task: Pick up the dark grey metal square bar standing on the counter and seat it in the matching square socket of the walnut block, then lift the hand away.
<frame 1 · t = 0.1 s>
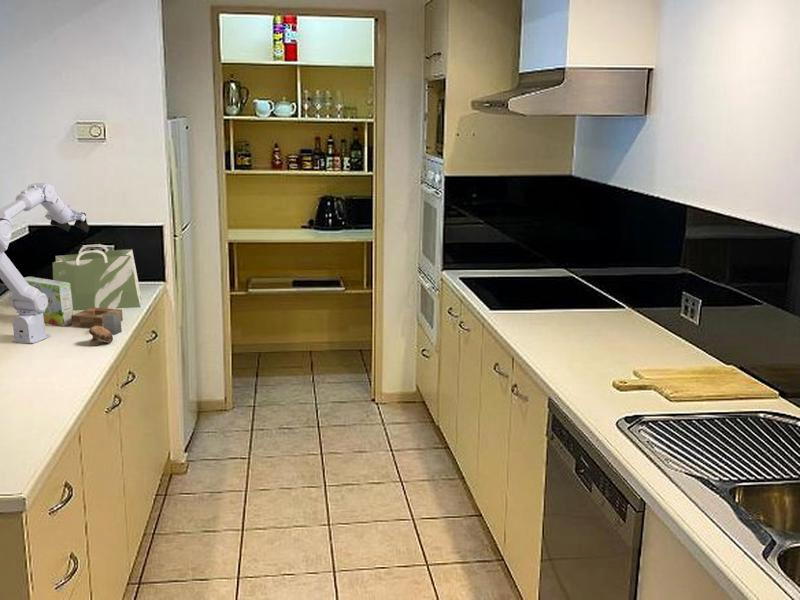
hand: (78, 229, 290), 32 cm above the countertop, fingers open, 7 cm apart
square bit: (113, 333, 279), on the countertop
snack box: (48, 322, 292), on the countertop
socket block: (97, 323, 290), on the countertop
mushroom: (101, 344, 266), on the countertop
grocery bag: (98, 306, 316), on the countertop
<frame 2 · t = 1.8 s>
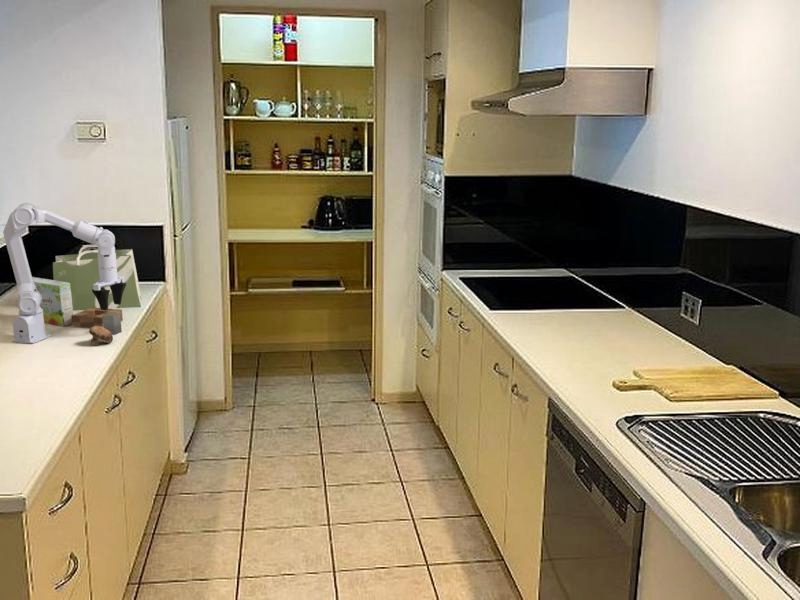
hand: (111, 306, 276), 9 cm above the countertop, fingers open, 7 cm apart
nothing on the countertop moved.
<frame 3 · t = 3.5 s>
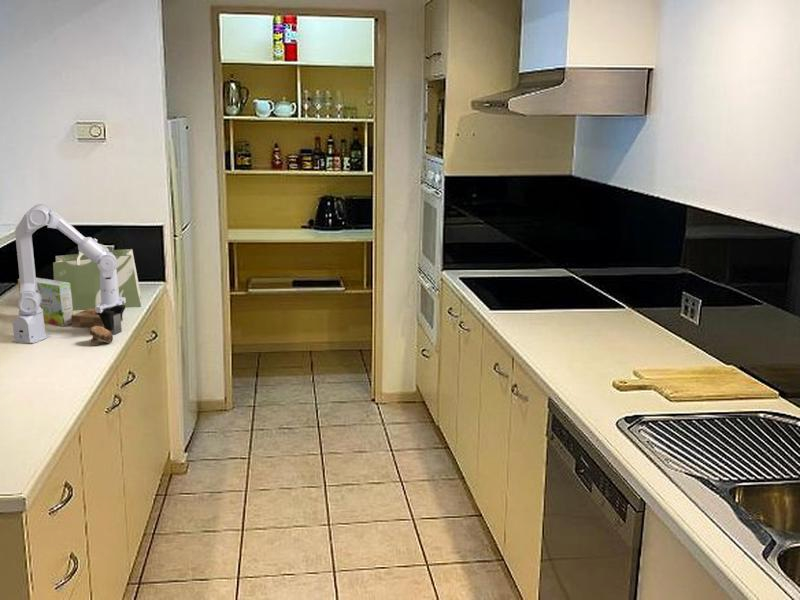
hand: (112, 328, 278), 2 cm above the countertop, fingers closed on square bit, 4 cm apart
square bit: (113, 332, 279), on the countertop, touching gripper
everything else where it was.
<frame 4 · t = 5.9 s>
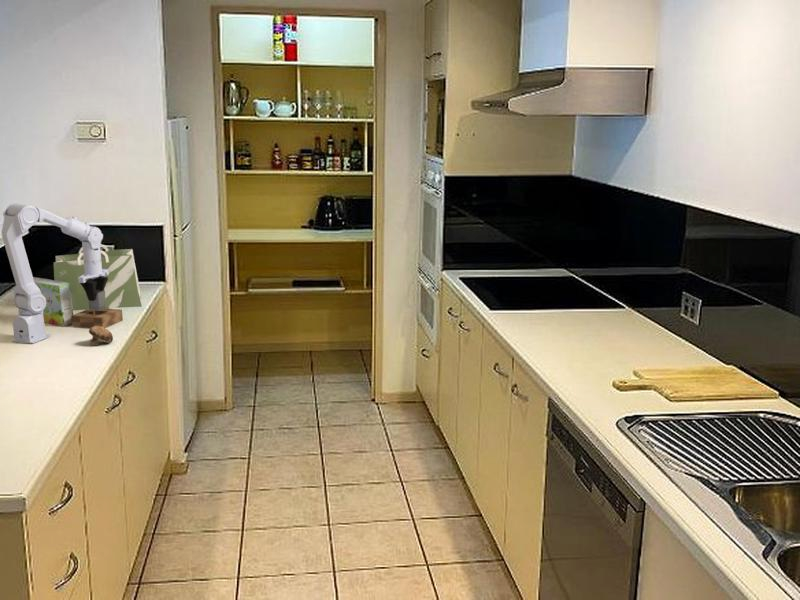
hand: (95, 299, 288), 9 cm above the countertop, fingers closed on square bit, 4 cm apart
square bit: (97, 309, 289), point 5 cm above the countertop, touching gripper
everything else where it was.
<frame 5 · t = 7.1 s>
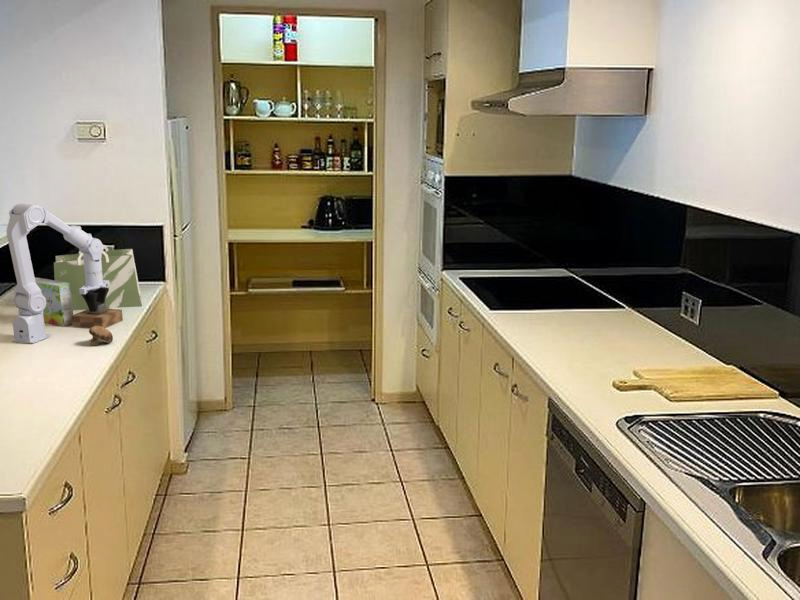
hand: (96, 310, 289), 5 cm above the countertop, fingers closed on square bit, 4 cm apart
square bit: (98, 321, 290), point 1 cm above the countertop, touching gripper
everything else where it was.
when the fingers open (5 cm above the countertop, at t = 8.3 s): square bit stays where it is, resting in socket block.
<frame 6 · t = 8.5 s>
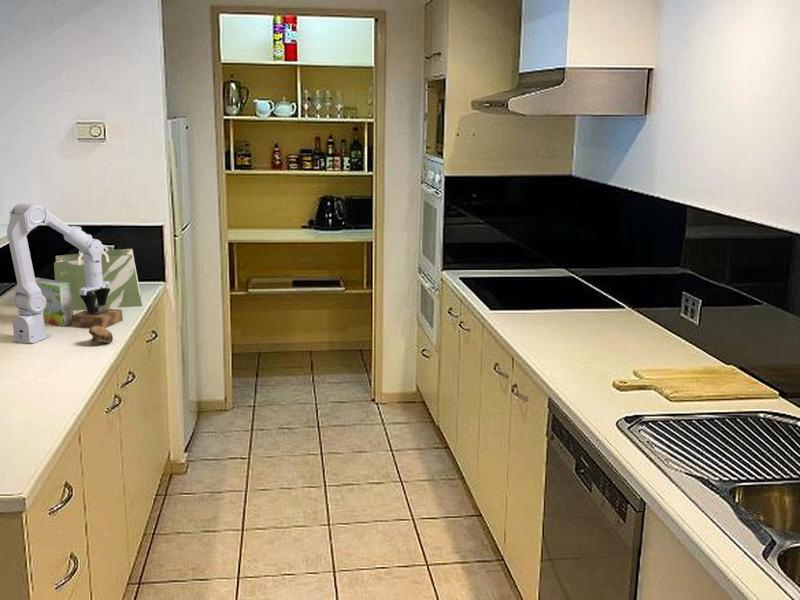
hand: (96, 310, 289), 5 cm above the countertop, fingers open, 5 cm apart
square bit: (98, 323, 290), resting in socket block
everything else where it was.
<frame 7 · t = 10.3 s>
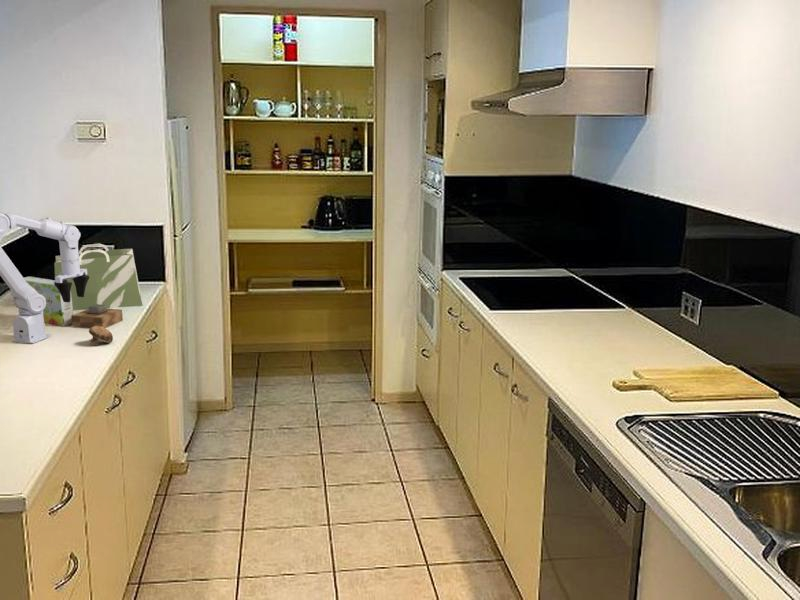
hand: (73, 299, 281), 10 cm above the countertop, fingers open, 7 cm apart
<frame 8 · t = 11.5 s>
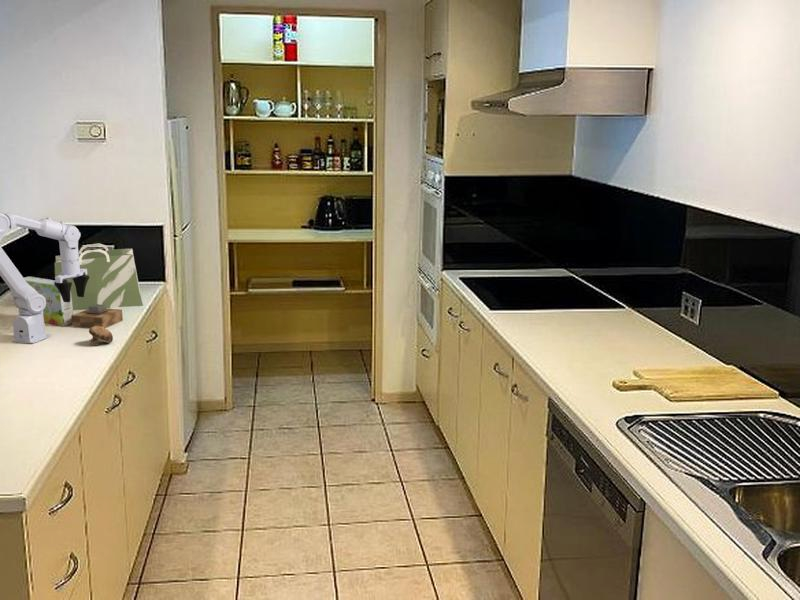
hand: (73, 299, 281), 10 cm above the countertop, fingers open, 7 cm apart
at the end: square bit 0.2 cm off-centre on the socket block, point 0.0 cm above the socket block's base; square bit tilted 0°; the gripper is holding nothing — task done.
